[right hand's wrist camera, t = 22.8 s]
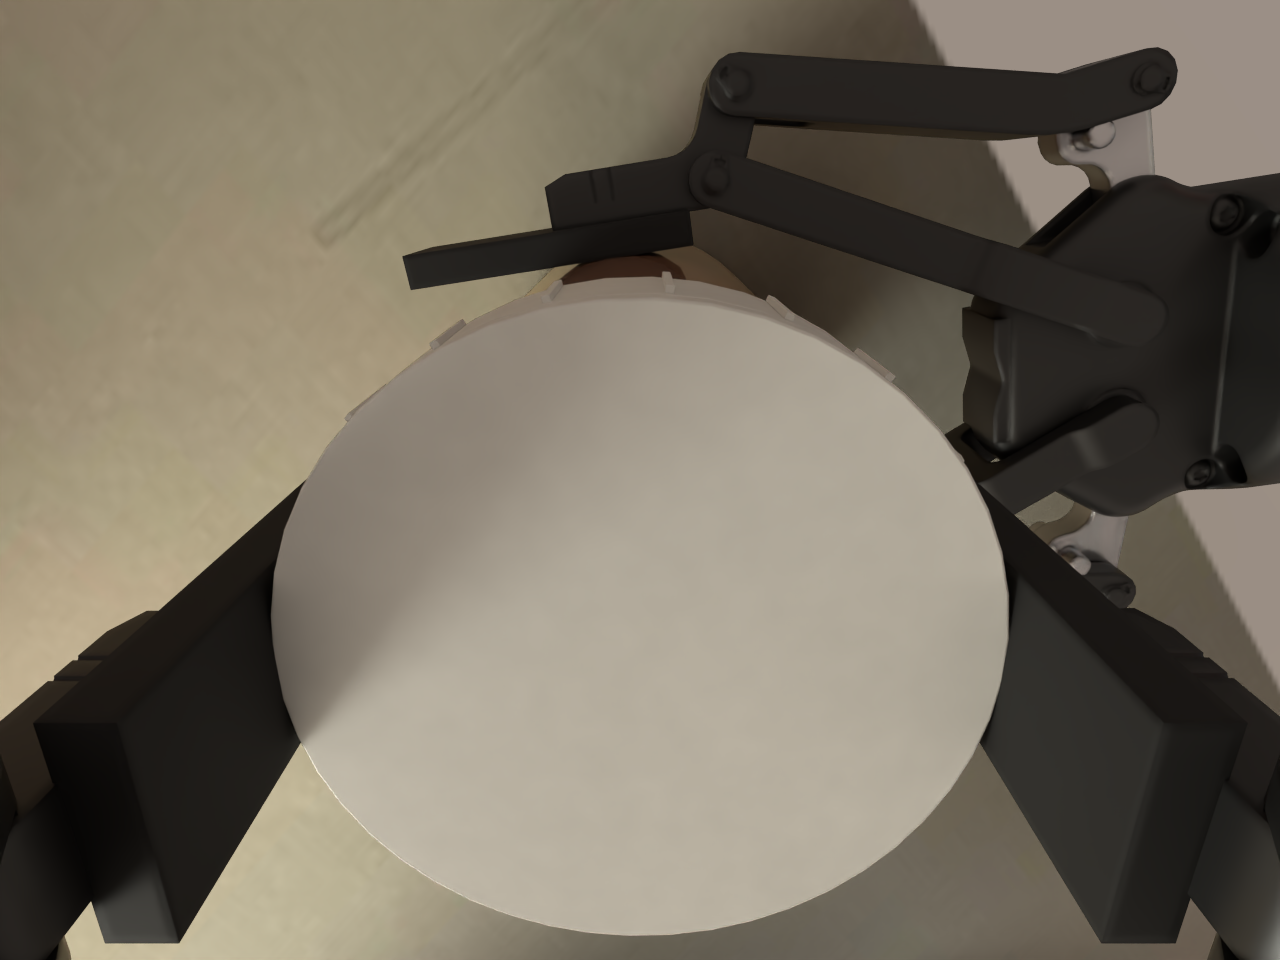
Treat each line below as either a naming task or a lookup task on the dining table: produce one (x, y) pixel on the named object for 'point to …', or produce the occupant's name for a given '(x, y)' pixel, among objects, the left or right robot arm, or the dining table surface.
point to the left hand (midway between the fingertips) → (466, 449)
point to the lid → (640, 610)
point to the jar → (648, 269)
